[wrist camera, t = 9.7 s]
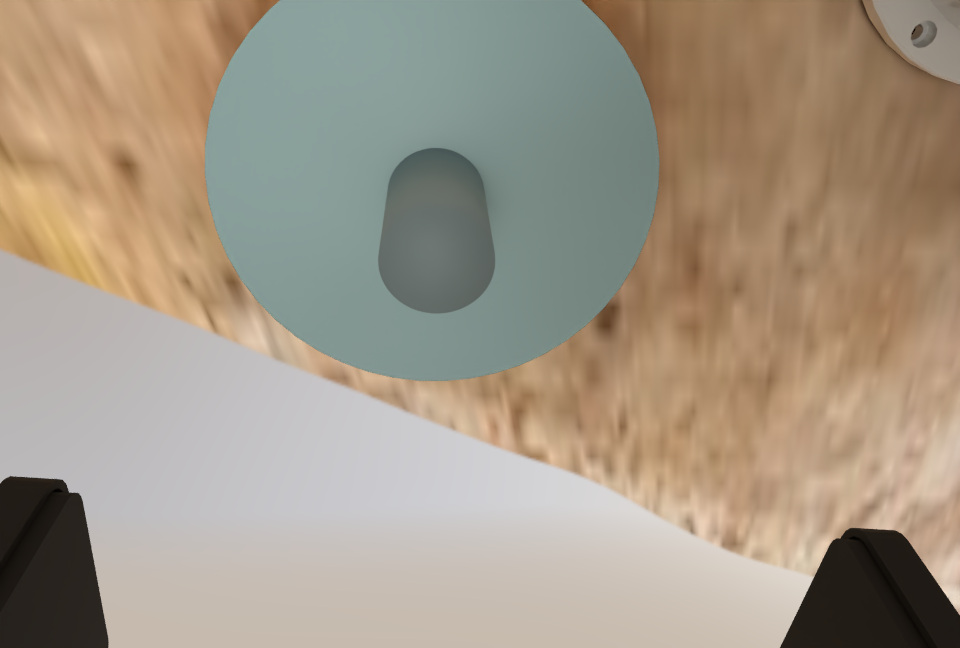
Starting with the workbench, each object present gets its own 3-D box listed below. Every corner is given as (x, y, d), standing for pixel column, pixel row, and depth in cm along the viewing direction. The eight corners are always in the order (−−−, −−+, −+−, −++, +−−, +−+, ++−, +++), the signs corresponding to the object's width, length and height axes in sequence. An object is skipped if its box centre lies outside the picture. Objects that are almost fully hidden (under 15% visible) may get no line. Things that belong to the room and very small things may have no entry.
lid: (702, -24, 20) (780, 4, 16) (605, 380, 27) (640, 483, 22) (198, -89, 19) (123, -77, 15) (222, 353, 26) (176, 458, 21)
